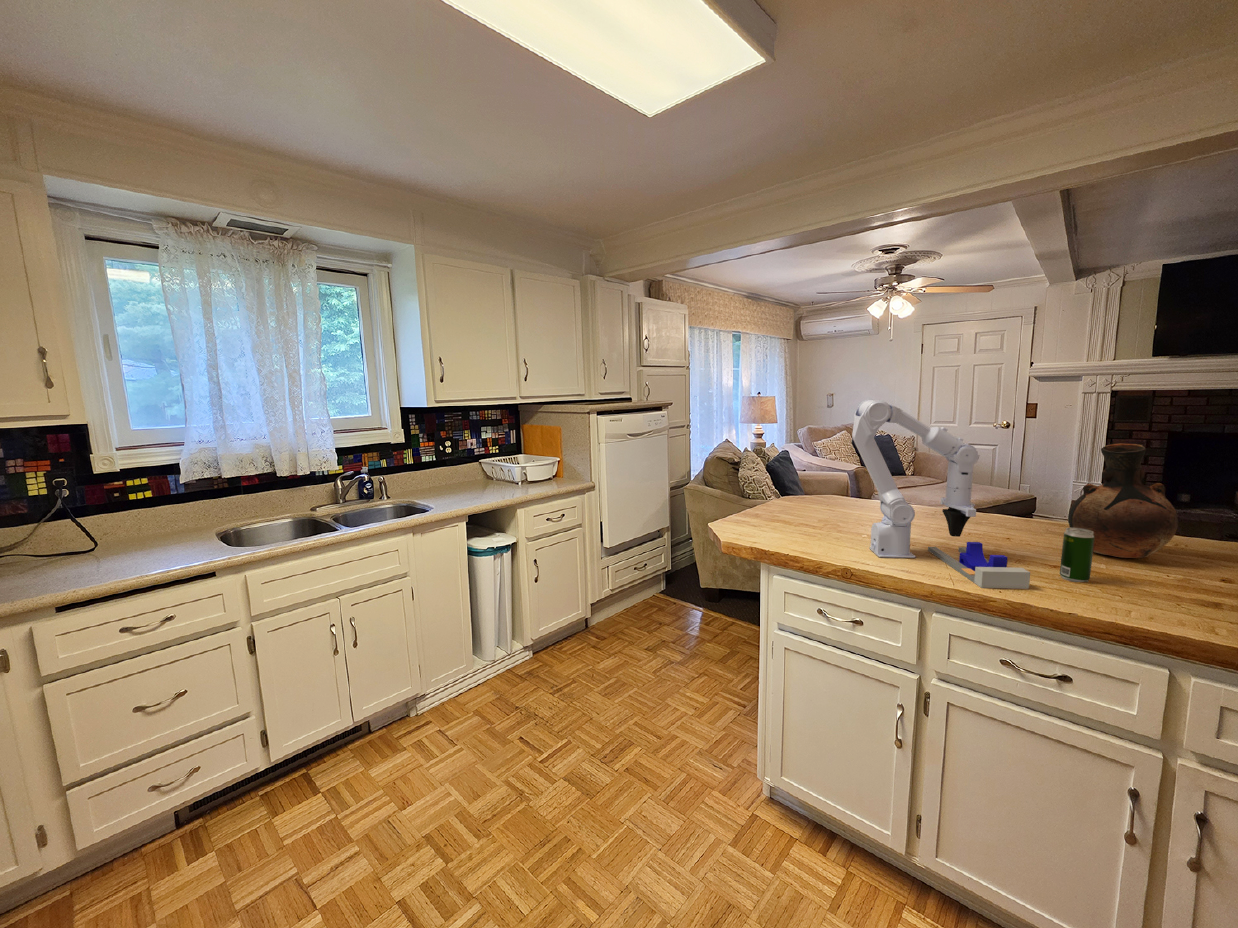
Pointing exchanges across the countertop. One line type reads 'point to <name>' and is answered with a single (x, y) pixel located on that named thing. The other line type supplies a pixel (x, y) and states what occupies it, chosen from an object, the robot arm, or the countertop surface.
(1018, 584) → the cable guide
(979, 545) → the cable clip
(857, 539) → the countertop surface
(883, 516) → the robot arm
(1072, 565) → the beer can
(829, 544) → the countertop surface
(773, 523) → the countertop surface
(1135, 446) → the ceramic vessel
